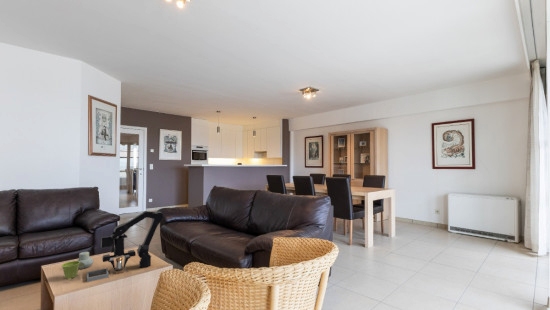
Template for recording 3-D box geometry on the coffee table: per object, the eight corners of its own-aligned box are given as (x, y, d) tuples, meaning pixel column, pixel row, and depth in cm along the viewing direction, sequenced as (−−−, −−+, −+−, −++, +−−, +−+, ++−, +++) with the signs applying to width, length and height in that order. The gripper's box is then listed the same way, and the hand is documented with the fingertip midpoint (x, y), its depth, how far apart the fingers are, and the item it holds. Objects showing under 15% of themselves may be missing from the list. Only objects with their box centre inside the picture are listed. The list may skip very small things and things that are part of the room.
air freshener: (95, 264, 194) (95, 250, 194) (87, 269, 185) (87, 255, 186) (80, 264, 194) (81, 250, 194) (71, 269, 186) (72, 254, 186)
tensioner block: (126, 267, 188) (126, 264, 188) (128, 273, 179) (128, 269, 179) (109, 271, 182) (109, 268, 182) (110, 276, 173) (110, 273, 173)
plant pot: (78, 278, 172) (78, 264, 172) (60, 281, 167) (60, 267, 167) (80, 272, 180) (80, 259, 180) (63, 276, 175) (63, 262, 175)
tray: (107, 272, 180) (107, 268, 180) (108, 278, 170) (108, 273, 171) (86, 277, 173) (86, 272, 173) (87, 283, 164) (87, 278, 164)
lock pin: (122, 270, 181) (122, 256, 182) (122, 272, 178) (122, 258, 179) (115, 271, 179) (115, 258, 179) (116, 273, 176) (116, 259, 176)
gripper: (133, 239, 191) (133, 261, 191) (102, 244, 180) (101, 268, 180) (135, 243, 182) (135, 266, 182) (103, 249, 171) (102, 273, 171)
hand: (119, 268), depth 179 cm, fingers open, 5 cm apart
